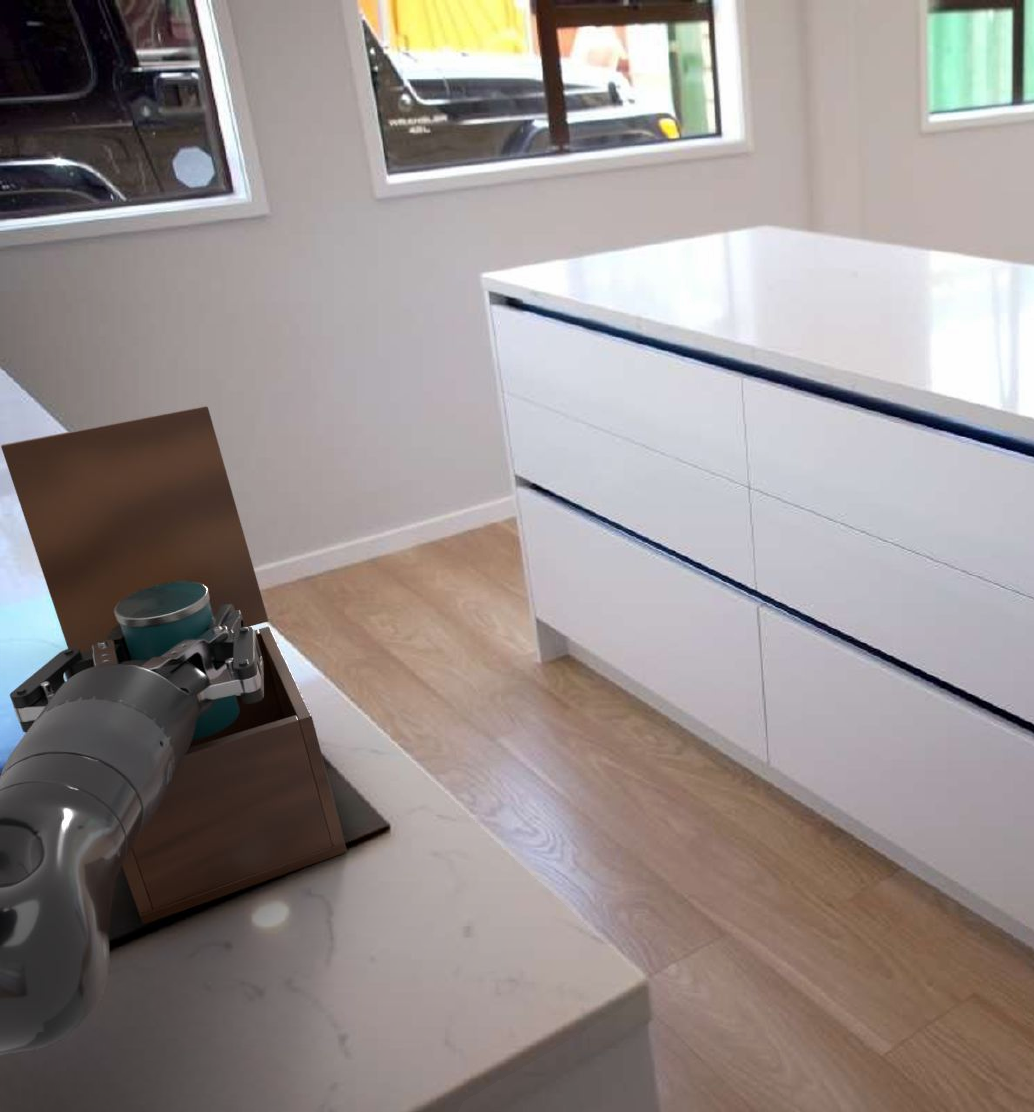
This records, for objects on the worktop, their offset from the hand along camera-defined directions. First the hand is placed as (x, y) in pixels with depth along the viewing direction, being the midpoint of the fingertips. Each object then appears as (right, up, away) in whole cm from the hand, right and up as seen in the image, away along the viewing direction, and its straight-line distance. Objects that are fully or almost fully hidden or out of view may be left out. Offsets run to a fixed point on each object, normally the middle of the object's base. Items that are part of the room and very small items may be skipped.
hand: (184, 623), depth 84 cm
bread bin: (+1, -15, +5) cm, 16 cm away
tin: (+1, -7, 0) cm, 7 cm away
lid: (-5, +6, +4) cm, 9 cm away
